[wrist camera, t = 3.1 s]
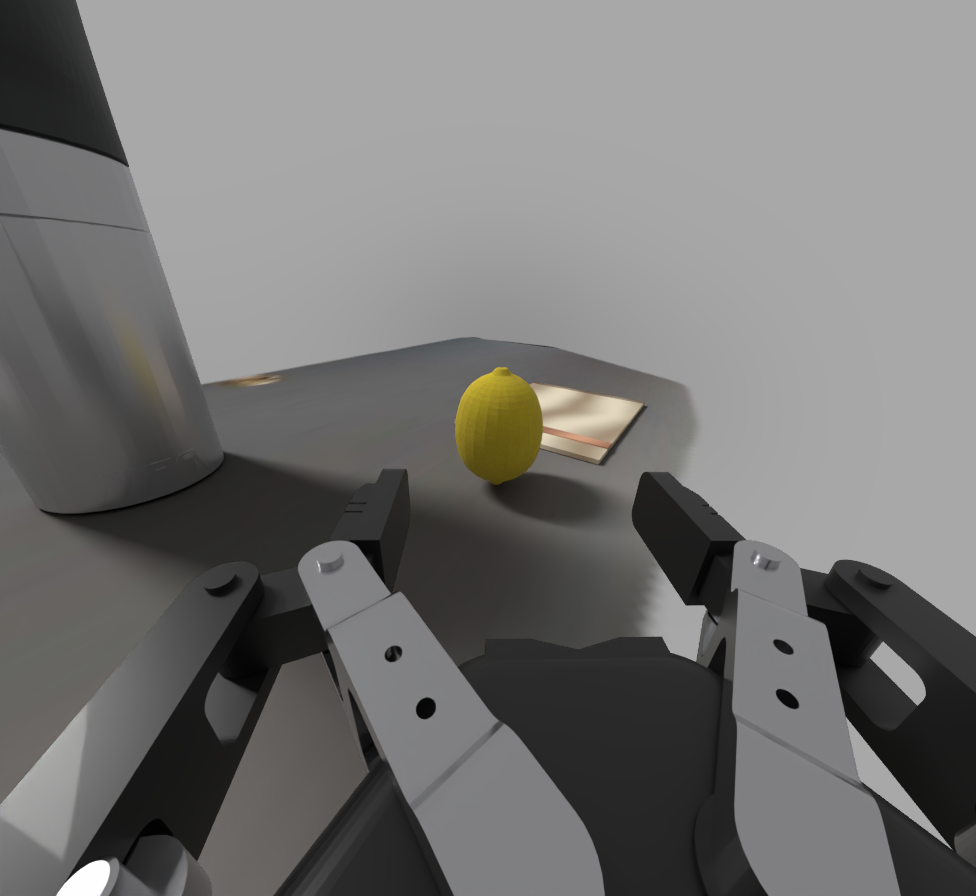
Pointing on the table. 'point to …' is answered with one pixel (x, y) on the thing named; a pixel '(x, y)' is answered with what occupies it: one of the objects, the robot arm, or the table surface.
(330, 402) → the table surface
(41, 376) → the robot arm
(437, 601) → the table surface
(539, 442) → the lemon
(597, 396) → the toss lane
